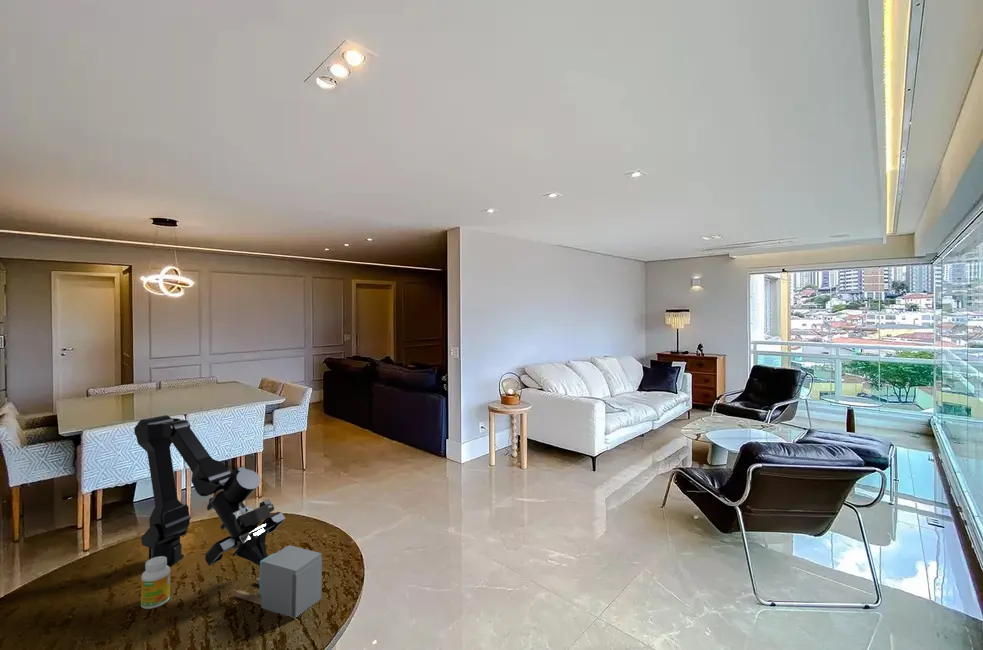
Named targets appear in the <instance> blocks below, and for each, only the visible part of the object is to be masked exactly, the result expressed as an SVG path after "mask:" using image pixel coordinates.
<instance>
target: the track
mask: <svg viewBox="0 0 983 650" xmlns="http://www.w3.org/2000/svg"><path fill="white" fill-rule="evenodd" d="M255 584H256V585H258V586H260V576H258V577H256V578H255ZM235 597H236V598H239V599H242V600H244V601H248V602H251V603H254V604H257V605H260V606H261V597H260V596H259V595H256V594H253V593H251V592H248V591H243V590H240V589H238V590H236V591H235Z"/></svg>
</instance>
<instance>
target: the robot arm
mask: <svg viewBox="0 0 983 650" xmlns="http://www.w3.org/2000/svg"><path fill="white" fill-rule="evenodd" d="M133 432H134V433H133V434H134V435H135V437H136V440H137V444H138V446H140V447H141V448H142V449H143V450H144V451H145V452H146V453H147V461H148V466H149V474H150V479H151V486H152V494H153V500H154V508H153V510H152V513H151V515H150V517H149V522H148V523H149V527H148V529H147V530H146V531H145V532H144V534H143V535H142V536H141V538H140V540H141V545H142V546H143V547H147V548H148V560H150V559H152V558H155V557H159V556H164V557H166V558H167V566H169V567H170V568H171V567H172V566H174V565H175V564H176V563H177V562H179V561H181V560H182V559H183V558H184V557H185V555H184V554H182V547H183V546H182V542H181V537H183V536H186V535H187V533H188V530H189V529H188V528H189V526H190V524H191V518H192V517H191V514H190V512H189V510H190V509H189V506H188V504H183V503H182V502H181V501H180V500H179V498H178V492H177V491H178V490H177V484H176V479H175V472H174V465H173V460H172V453H171V445H173V446H174V448H175V449H176V450H177V451H178V453H179V455H180V456H181V457H182V459H183V460H184V462H185V463H186V465H187V466H188V467H189V469H190V471H191V483H192V485H193V487H194V490H195V492H196V494H198V495H199V496H200V497H208V496H210V495H213V494H216V493H217V494H216V495H215V496H212V497H211V498H209V499H208V504H207V506H206V510H207V511H211V510H213V509H214V512H215V513H216V514H217V516H218V518H219V519H220V521H221V523H222V524H221V525H220V527H219V528H220V529H221V530H222V531H224V530H226V531H227V532H228V536H227V537H225V538H221V539H220V540H219V541H217V542H215V543H214V544H213V545H212V546H211V548H209V549H208V550H207V551H206V552H205V557H204V559H205V561H206V563H207V565H208V567H210V566H212V565H214V564H216V563H218V562H220V561H221V560H222V559H223V555H224V554H225V553H226V552H228V551H230V550H232V549H233V550H234V552H233V553H232V557H233V558H234V557H236V556H237V557H239V558H242V559H244V560H247V561H249V562H251V563H254V564H255V565H257V566H259V567H260V561H261V560H263V559H265V558H266V557H268V553H267V548H266V547H267V546H266V537H267V536H268V535H269V534H271V533H273V532H274V531H275V530H277V528H278V527H279V526H281V525H282V523H283V522H285V520H286V517H285V515H284V514H283V512H280V511H276V512H274V511H275V506H274V503H273V502H272V501H271V500H270V499H266V500H263V501H261V502H259V503H258V504H259V506H258V507H256V508H254V509H253V507H252V506H250V505H247V506H246V505H245V503H244V501H246V500H247V499H248V498H249V497H250V496H251V495H252V494H253V492H255V490H256V489H257V488H258V487H259V486H260V484H261V477H260V475H259V474H258V472H256V471H254V470H251V469H247V468H246V467H245V466H244V465H243V466H239V467H236V468H235V469H234V471H231V470H230V469H229V468H228V467H227V466H226V465H225V464H224V463H223V462H221V461H219V460H216V459H214V458H213V457H212V456H211V455H210V454H209V452H208V450H206V448H205V447H204V445H203V444H202V442H201V441H200V440H199V438H198V437H197V436H196V434H195V432H194V431H193V430H192V429H191V424H190V422H189V421H188V420H187V419H181V418H173V417H171V416H170V415H165V414H164V415H160V416H153V417H148V418H143V419H141V420H139V421H138V422H137V424H136V425H135V426H134V428H133ZM272 512H274V513H273V514H271V513H272ZM143 569H144V570H145V565H144V566H143Z"/></svg>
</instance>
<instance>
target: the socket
mask: <svg viewBox="0 0 983 650" xmlns="http://www.w3.org/2000/svg"><path fill="white" fill-rule="evenodd" d="M272 554H273V553H272ZM269 556H270V555H269ZM267 557H268V556H267ZM322 578H323V557H322V553H321V552H317V551H313V550H310V549H306V548H304V547H303V548H302V547H298V546H295V545H290V544H288V545H287V546H285V547H284V548H282V549H280V550H278V551H277V552H275V554H273V555H272V556H270V557H268V558H267V559H265V560H263V561H262V586H261V605H260V608H261V609H264V610H267V611H269V612H272V613H275V612H276V613H275V614H278V613H280V614H279V615H281V614H283V615H282V616H284V615H287V616H291V617H294V618H296V617H298V616H299V615H300V614H302V613H303V612H304V611H305V610H306V611H308V610H309V609H310V608H311V607H313V606H314V605H315V604H317V602H319V601H320V600H321V599H322V584H323V583H322V582H323V579H322ZM312 605H313V606H312ZM309 607H310V608H309ZM308 608H309V609H308ZM307 609H308V610H307ZM306 611H305V612H306ZM305 612H304V613H305ZM304 613H303V614H304ZM303 614H302V615H303ZM287 616H286V617H287ZM300 616H301V615H300ZM300 616H299V617H300ZM299 617H298V618H299Z"/></svg>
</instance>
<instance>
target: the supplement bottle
mask: <svg viewBox="0 0 983 650" xmlns="http://www.w3.org/2000/svg"><path fill="white" fill-rule="evenodd" d="M144 566H145V569H144V570H145V571H143V572H142V574H141V577H140V579H141V580H140V581H141V582H140V583H141V584H140V586H141V587H140V606H141V608H143V609H146V610H151V609H155V608H158V607H161V606H162V605H165V604H166V603H167V602H168V601H169V599H170V598H171V567H169V566H167V558H166V557H164V556H159V557H155V558H152V559H150V560H149V559H148V560H147V561H145V565H144Z"/></svg>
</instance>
